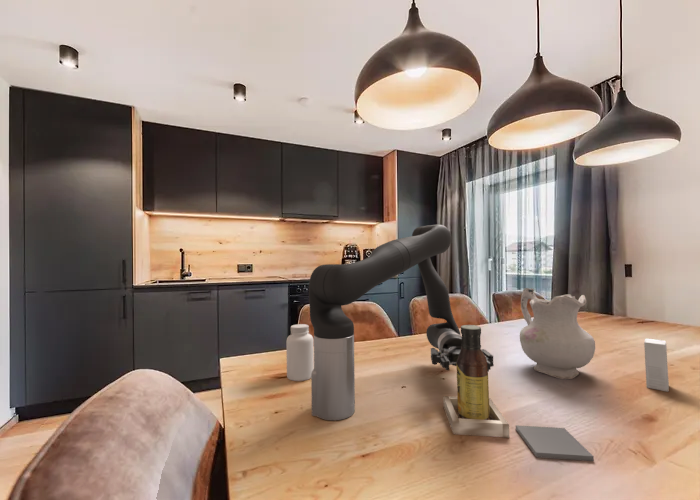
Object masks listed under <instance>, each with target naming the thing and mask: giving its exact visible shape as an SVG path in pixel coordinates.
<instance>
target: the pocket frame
mask: <svg viewBox="0 0 700 500" xmlns="http://www.w3.org/2000/svg"><path fill="white" fill-rule="evenodd" d="M442 400H443V409H444V413H445V414H446V418H447V420H448V424H449V426H450V429H451V433H452V434H453V435H462V436H476V437H477V436H479V437H480V436H481V437H495V438H496V437H497V438H499V437H500V438H508V439H509V438H510V423H509V422H508V421H507V419H506V418H505V416H504V415H503V414H502V412H501V410H500V409H499V408H498V407H497V405H496V404H495V403H494V401H493V400H492V399H491V398H490V397H489V420H480V419H462V418H460V417H459V416H458V415H457V412H456V411H458V398H457V396H444V395H443V398H442ZM458 417H459V418H458Z"/></svg>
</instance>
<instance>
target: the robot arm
mask: <svg viewBox="0 0 700 500" xmlns="http://www.w3.org/2000/svg"><path fill="white" fill-rule="evenodd" d="M451 244H452V234H451V231H450V230H449V229H448V227H446V226H445V225H443V224H429V225H422V226H417V227H415V229H414V230H413V232H412V234H411V236H406V237H400V238H396V239H393V240H390V241H388V242H385V243H383V244H381V245H378V246H377V247H375V248H374V249H373V250H372V251H371V253H370V254H369V256H368V257H367V258H364V259H362V260H358V261H355V262H351V263H345V264H343V263H342V264H340V263H338V264H337V263H336V264H335V263H333V264H328V263H327V264H321V265H318V266H317V267H315V268H314V269H313V271H312V273H311V275H310V278H309V282H308V302H309V303H308V304H309V319H310V322H311V326H312V328H313V349H314V369H313V371H312V373H311V378H310V379H311V387H310V388H311V416H315V417H318V418H319V419H322V420H326V421H340V420H344V419H347V418H350V417H352V415H353V414H354V413H355V409H356V408H355V406H356V405H355V404H356V399H355V395H356V393H355V387H356V386H355V385H356V384H355V325H354V324H355V323H354V322H353V320H352V319H350V318H349V317H348V316H347V315H346V314H345V311H343V308H342V306H349V305H351V304H353V303H354V302H355V301H357V300H359V299H360V298H361V297H363V296H364V295H365V294H367V293H368V292H369V291H370V290H373V288H375V287H376V286H379V285H381V284H382V283H385V282H386V281H388V280H390V279H392V278H394V277H396V276H398V275H401V274H403V273H404V272H406V271H408V270H409V269H411V268H412V267H414V266H418V269H419V272H420V274H421V278H422V281H423V285H424V289H425V295H426V302H427V307H428V314H429V316H430V317H431V318H434V319H439V320H440V319H441V320H445V321H446V322H441V323H433V324H429V326H428V327H427V328H426V331H425V332H426V333H425V334H426V339H427V341H428V343H429V344H430V345H431V346H432V347H431V348H430V360H431V361H430V362H431V365H436V366H437V365H438V364H439V366H441V367H442V368H443V369H445V370H446V371H450V366H453V367H457V366H456V362H457V359H458V356H459V353H460V351H461V347H462V334H461V330H460V328H459V327H458V324H457V322H456V320H455V318H454V314H453V313H452V308H451V307H452V306H451V301H450V293H449V290H448V287H447V285H446V284H445V282H444V280H443V279H442V277H441V276H440V274H439V273H438V271H436V269H435V267H434V265H433V263H432V259H431V258H432V257H435V256H438V255H441V254H444V253H445V252H447V250H448V249H449V248H450V246H451ZM481 350H482V352H483V353H484V356H485V357H486V359H487V371H488V373H489V371H490V370H491V369H492V368H493V367H494V365H495V364H494V354H492V353H491V352H489V351H488V350H487V349H485V348H481Z"/></svg>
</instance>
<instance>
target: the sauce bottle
mask: <svg viewBox="0 0 700 500" xmlns="http://www.w3.org/2000/svg"><path fill="white" fill-rule="evenodd" d="M460 335H461V337H462V347H461V351H460V353H459V356H458V359H457V362H456V366H455V367H456V392H457V393H456V395H457V396H456V397H457V398H458V410H457V411H458V417H459V418H462V419H480V420H490V416H489V398H490V395H489V394H490V390H489V389H490V387H489V372H488V371H487V359H486V357H485V356H484V353H483V352H482V350H481V349H482V345H481V344H482V343H481V335H482V328H481V326H478V325H474V324H465V325H464V324H463V325H461V326H460Z"/></svg>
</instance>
